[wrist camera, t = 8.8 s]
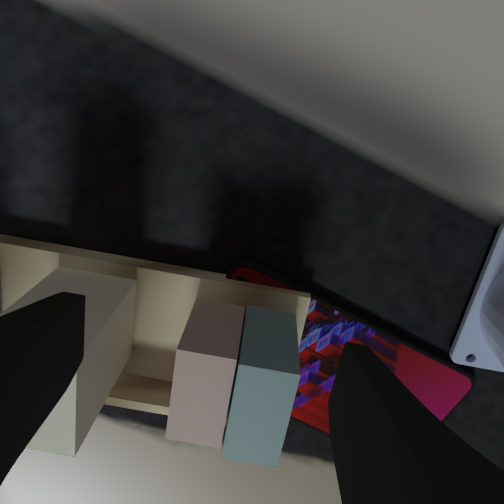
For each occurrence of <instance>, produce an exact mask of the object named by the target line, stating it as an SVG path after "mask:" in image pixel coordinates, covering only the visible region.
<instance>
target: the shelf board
mask: <svg viewBox="0 0 504 504" xmlns="http://www.w3.org/2000/svg"><path fill="white" fill-rule="evenodd" d="M58 266H60V267H65V268H71V269H77V270H82V271H88V272H94V273H99V274H105V275H111V276H117V277H122V278H128V279H134V280H137V290H136V303H135V316H134V329H133V342H132V353H131V355H130V357H129V359H128V361H127V363H126V364H125V366H124V368H123V370H122V372H121V373H120V375H119V377H118V379H117V381H116V383H115V384H114V386H113V388H112V390H111V392H110V393H109V395H108V397H107V399H106V401H105V403H104V404H107V405H113V406H118V407H124V408H130V409H135V410H141V411H147V412H152V413H158V414H164V415H168V414H169V406H170V398H171V390H172V382H173V373H174V365H175V357H176V349H177V347H178V344H179V341H180V339H181V336H182V334H183V331H184V329H185V326H186V323H187V321H188V318H189V316H190V313H191V310H192V308H193V305H194V303H195V300H196V298H201V299H207V300H213V301H218V302H224V303H229V304H235V305H241V306H245V310H244V317H243V323H242V330H241V336H242V331H243V326H244V320H245V315H246V310H247V305H251V306H256V307H262V308H267V309H273V310H279V311H284V312H290V313H295V314H296V320H297V333H298V346H299V345H300V341H301V337H302V333H303V328H304V324H305V320H306V316H307V312H308V308H309V304H310V300H311V295H310V293H306V292H299V291H294V290H288V289H282V288H277V287H271V286H265V285H260V284H254V283H247V282H242V281H236V280H231V279H226V274H221V273H215V272H210V271H204V270H199V269H193V268H188V267H182V266H176V265H171V264H165V263H160V262H154V261H148V260H143V259H137V258H132V257H126V256H120V255H115V254H109V253H104V252H98V251H92V250H87V249H81V248H76V247H70V246H65V245H59V244H53V243H48V242H42V241H37V240H31V239H25V238H20V237H14V236H9V235H3V234H0V270H1V291H2V312H4V311H5V310H6V309H7V308H9V307H10V306H11V305H12V304H13V303H15V302H16V301H17V300H18V299H19V298H21V297H22V296H23V295H24V294H26V293H27V292H28V291H29V290H30V289H32V288H33V287H34V286H35V285H36V284H38V283H39V282H40V281H41V280H43V279H44V278H45V277H46V276H47V275H49V274H50V273H51V272H52V271H53V270H55V269H56V268H57V267H58ZM240 342H241V337H240ZM239 347H240V343H239ZM238 352H239V350H238ZM237 358H238V356H237ZM236 363H237V362H236ZM234 374H235V373H234ZM233 379H234V378H233ZM231 391H232V389H231ZM230 397H231V395H230ZM229 404H230V400H229ZM228 410H229V405H228ZM227 417H228V411H227V416H226V421H225V425H226V423H227Z"/></svg>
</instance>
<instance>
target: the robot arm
mask: <svg viewBox="0 0 504 504" xmlns="http://www.w3.org/2000/svg"><path fill="white" fill-rule="evenodd" d="M85 300H86V295H81V294H75V293H70V292H60V293H57V294H54V295H51V296H49V297H46V298H44V299H41V300H39V301H36V302H34V303H31V304H29V305H27V306H24V307H22V308H19V309H17V310H14V311H12V312H9V313H7V314H5V315H2V316H0V485H1V484H2V482H3V480H4V478H5V477H6V475H7V474H8V472H9V471H10V469H11V467H12V466H13V465H14V463H15V462H16V460H17V458H18V457H19V456H20V454H21V453H22V452H23V450H24V449H25V448H26V446H27V445H28V443H29V442H30V441H31V439H32V438H33V436H34V435H35V434H36V432H37V431H38V429H39V428H40V427H41V425H42V424H43V423H44V421H45V420H46V418H47V417H48V416H49V414H50V413H51V411H52V410H53V409H54V407H55V406H56V404H57V403H58V402H59V400H60V399H61V397H62V396H63V394H64V393H65V392H66V390H67V389H68V387H69V385H70V383H71V381H72V380H73V378H74V376H75V374H76V372H77V370H78V368H79V366H80V364H81V362H82V360H83V358H84V332H85ZM469 354H473V355H472V356H471V357H470V358H466V357H467V355H469ZM449 355H450V358H451V359H452V361H453V362H454V363H457V364H461V365H467V366H473V367H478V368H484V369H489V370H495V371H501V372H504V222H503V223H502V224H501V225H500V227H499V229H498V231H497V234H496V236H495V239H494V241H493V244H492V246H491V249H490V251H489V254H488V257H487V259H486V262H485V264H484V267H483V269H482V272H481V274H480V277H479V279H478V282H477V284H476V287H475V289H474V292H473V294H472V297H471V299H470V302H469V304H468V307H467V309H466V312H465V314H464V317H463V319H462V322H461V324H460V327H459V329H458V332H457V334H456V337H455V339H454V342H453V344H452V347H451V349H450V353H449ZM328 414H329V432H330V440H331V446H332V451H333V457H334V463H335V468H336V473H337V479H338V484H339V490H340V495H341V500H342V504H504V471H503V470H502V469H500V468H499V467H497V466H496V465H495V464H493V463H492V462H490V461H489V460H488V459H486V458H485V457H484V456H482V455H481V454H480V453H478V452H477V451H476V450H475V449H473V448H472V447H471V446H470V445H469V444H467V443H466V442H465V441H464V440H462V439H461V438H460V437H459V436H458V435H456V434H455V433H454V432H453V431H452V430H450V429H449V428H448V427H447V426H446V425H445V424H444V423H442V422H441V421H440V420H439V419H438V418H437V417H436V416H435V415H434V414H433V413H432V412H431V411H430V410H429V409H428V408H427V407H425V406H424V405H423V404H422V403H421V402H420V401H419V400H418V399H417V398H416V397H415V396H414V395H413V394H412V393H411V391H410V390H409V389H408V388H407V387H406V386H405V385H404V384H403V383H402V382H401V381H400V380H399V379H398V378H397V377H396V376H395V374H394V373H393V372H392V371H391V370H390V369H389V368H388V367H387V366H386V365H385V363H384V362H383V361H382V360H381V359H380V358H379V357H378V356H377V355H376V354H375V353H374V352H373V351H372V349H370V348H369V347H368V346H367V345H362V344H356V343H350V342H345V345H344V348H343V351H342V355H341V358H340V362H339V365H338V369H337V372H336V375H335V379H334V382H333V386H332V389H331V393H330V396H329V399H328Z"/></svg>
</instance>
